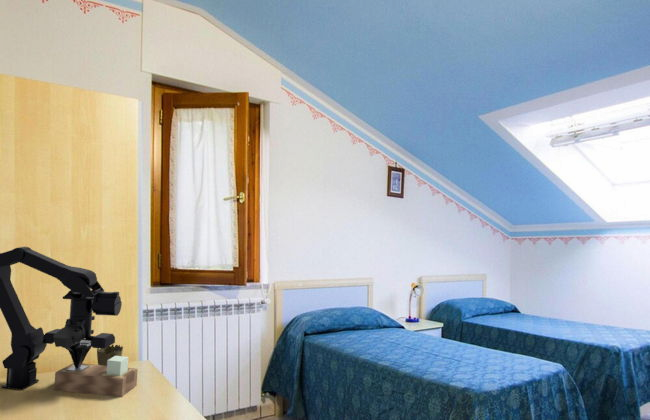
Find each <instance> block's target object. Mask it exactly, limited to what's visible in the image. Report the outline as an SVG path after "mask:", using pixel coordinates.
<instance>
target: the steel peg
mask: <svg viewBox="0 0 650 420" xmlns="http://www.w3.org/2000/svg"><path fill="white" fill-rule="evenodd" d="M88 367H89V366H83V365H81V367H80V368H75V366H73V367H71V368H69V369H67V371H74V372H81V371H83V370H85V369H87V368H88Z"/></svg>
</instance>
